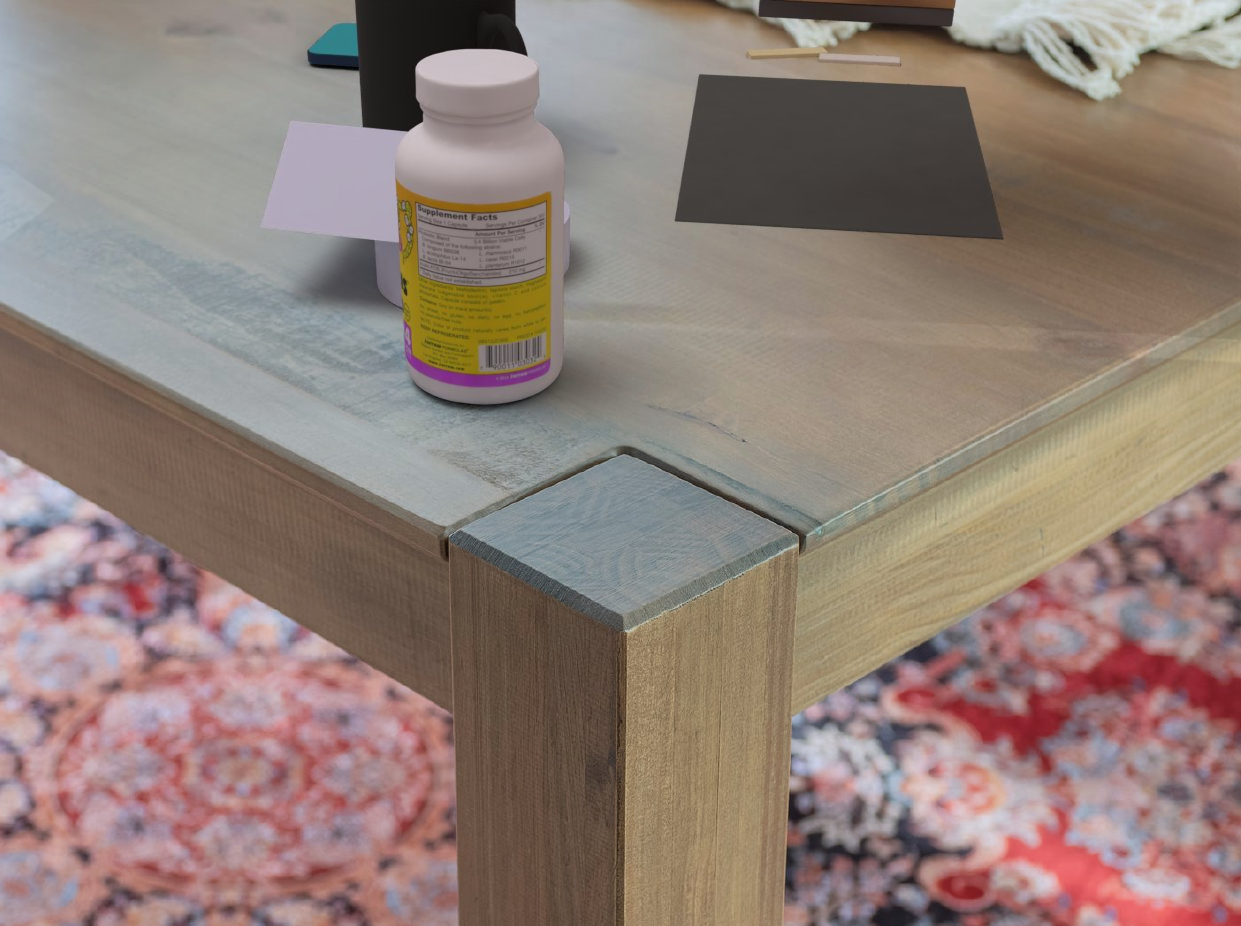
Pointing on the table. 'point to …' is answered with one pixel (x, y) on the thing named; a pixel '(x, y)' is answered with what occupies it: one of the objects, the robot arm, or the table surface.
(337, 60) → the smartphone
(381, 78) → the mug
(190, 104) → the table surface
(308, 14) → the table surface
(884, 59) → the chalk
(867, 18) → the eraser
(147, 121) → the table surface
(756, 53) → the chalk
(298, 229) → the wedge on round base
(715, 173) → the slate board
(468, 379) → the supplement bottle
